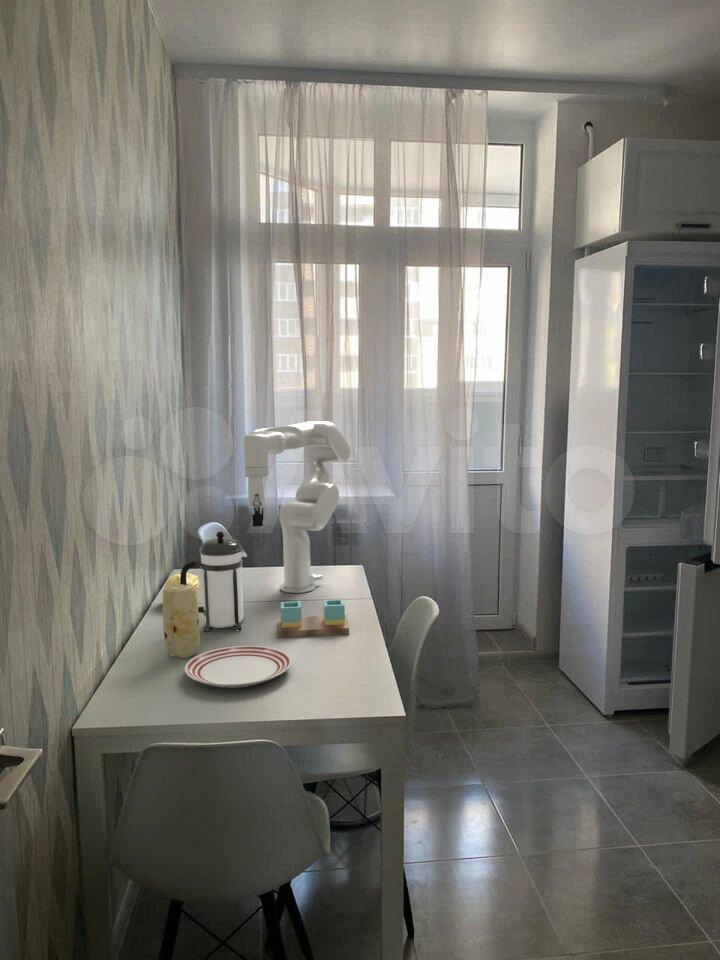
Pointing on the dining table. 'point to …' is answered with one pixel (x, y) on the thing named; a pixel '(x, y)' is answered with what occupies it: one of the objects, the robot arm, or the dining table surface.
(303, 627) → the pin board
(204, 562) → the coffee press
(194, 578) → the sculpture
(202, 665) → the dinner plate
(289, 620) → the seated sleeve
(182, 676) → the dining table surface
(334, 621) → the sleeve
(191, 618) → the food model
